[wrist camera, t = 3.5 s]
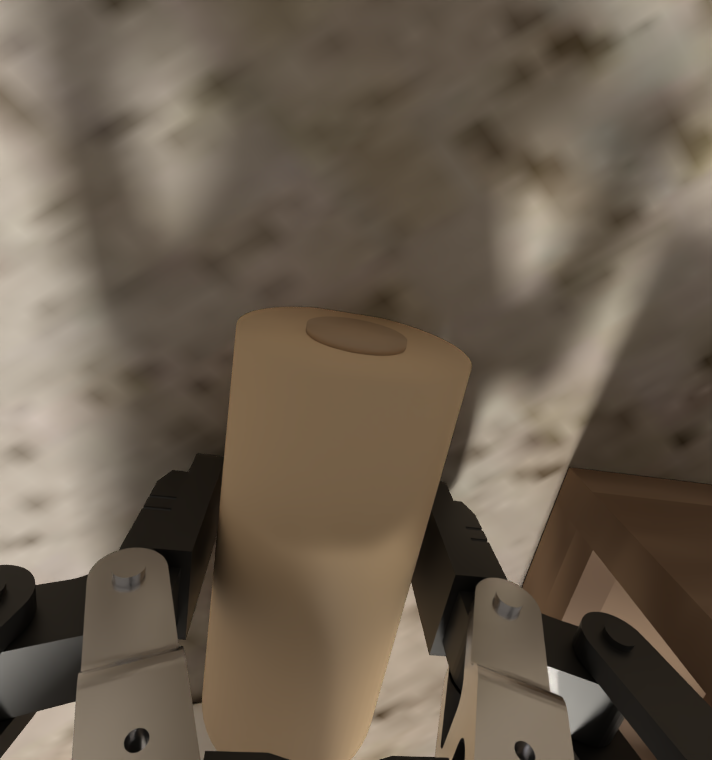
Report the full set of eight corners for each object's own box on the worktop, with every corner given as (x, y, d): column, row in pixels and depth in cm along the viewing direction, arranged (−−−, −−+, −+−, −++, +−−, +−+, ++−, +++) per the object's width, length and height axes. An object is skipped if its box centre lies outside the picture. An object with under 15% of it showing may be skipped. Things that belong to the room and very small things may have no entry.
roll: (254, 289, 11) (213, 348, 7) (440, 320, 12) (512, 392, 7) (220, 615, 15) (180, 789, 10) (364, 625, 15) (382, 793, 11)
